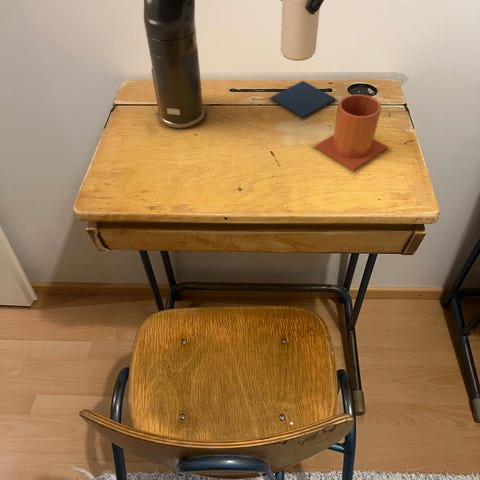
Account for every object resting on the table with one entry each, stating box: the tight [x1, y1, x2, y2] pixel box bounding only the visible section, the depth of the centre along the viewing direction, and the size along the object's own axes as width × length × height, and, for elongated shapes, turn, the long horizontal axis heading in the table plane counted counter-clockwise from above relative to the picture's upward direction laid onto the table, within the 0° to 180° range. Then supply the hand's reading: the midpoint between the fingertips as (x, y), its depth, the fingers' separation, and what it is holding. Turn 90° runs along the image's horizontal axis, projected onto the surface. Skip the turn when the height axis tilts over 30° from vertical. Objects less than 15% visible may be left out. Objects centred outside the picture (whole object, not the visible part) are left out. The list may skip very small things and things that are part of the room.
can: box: [280, 0, 321, 62], centre depth 81 cm, size 6×6×12 cm
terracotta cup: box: [332, 93, 382, 158], centre depth 88 cm, size 8×8×9 cm
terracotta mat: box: [315, 135, 389, 172], centre depth 92 cm, size 10×10×1 cm
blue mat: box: [270, 80, 336, 119], centre depth 102 cm, size 10×10×1 cm
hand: (294, 4), depth 79 cm, fingers closed on can, 6 cm apart
